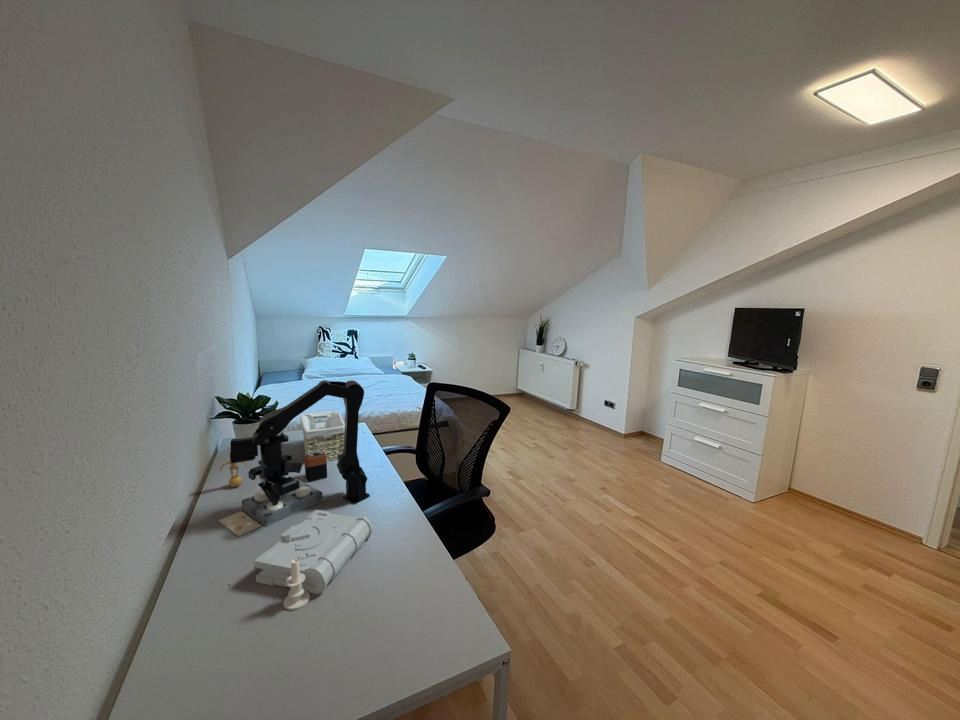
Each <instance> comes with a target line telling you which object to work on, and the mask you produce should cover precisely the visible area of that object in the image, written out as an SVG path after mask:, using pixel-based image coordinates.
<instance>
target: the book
mask: <svg viewBox="0 0 960 720" xmlns="http://www.w3.org/2000/svg"><path fill="white" fill-rule="evenodd" d="M373 529H374V528H373V524H372V522H371V521H370V519H369V518H368V517H366V516H349V515H343V514H337V513H331V512H330V511H326V510H320V509H315V510H314V511H313V512H311V513H310V514H309V515H308V516H307V517H306V519H305V520H304V521H302V522H301V523H298V524H296V525H291V526H290V527H289V528H288V529H286V530H285V531H284V532H283V533H281V535H280V541H279V542H277V543H276V544H275V545H273V547H271V548H270V549H269V548H268V549H267V550H266V551H264V552H262V554H260V555H259V556H257V558H255V559H254V560H253V562H254V567H255V568H258V569H260V571H259V573H257V574H256V575H255V582H256V583H259V584H261V585H268V586H274V585H275V586H280V587H284V588H290V587H291V586H288V585H287V584H286V580H287V579H288V578H289V577H290V576H291V561H292V560H294V559H295V560H298V561H299V571H300V573H302V574H304V575H305V580H304V581H303V582H302V583H301V584H302V587H304V591H307V592H308V593H309V594H313V595H321V594H322V593H324V592H325V590H326V588H327V586H328V584H329V583H330V582H332V581H334V580H335V578H336V577H337V575H338V574H340V573H341V571H342V570H343V568H344V565H346V563H347V562H348V561H349V560H350V558H351V557H352V556H354V555H355V554H356V553H357V552H358V551H359V550H360V549H361V547H362V546H363V545H364V544H365V541H366V540H369V539H370V538H371V535H372V534H373V532H374V531H373ZM290 589H291V588H290Z"/></svg>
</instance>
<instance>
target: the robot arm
mask: <svg viewBox="0 0 960 720" xmlns="http://www.w3.org/2000/svg"><path fill="white" fill-rule="evenodd" d="M327 396H331V397H334V398H341V399H342V400H343V405H344V409H345V413H344V414H345V415H344V423H345V431H344V450H343V453H342V455H337V457H338V459H337V464H336V467H337V470H338V472H339V474H340V475H341V477H342V479H343V480H345V495H342V499H343V500H346V501H348V502H349V503H352V504H354V505H355V504H357V503H359V502H361V501H363V500H365V499H367V498H369V497H371V494H370V493H367V488H366V487H367V481H368V477H367V474H366V473H365V470H363V468H362V466H360V460H359V456H358V433H359V432H358V431H359V415H360V414H359V413H360V409H361V407H362V404H363V400H364V396H365V389H364V387H362V386H361V384H359V383H358V382H357V381H356V380H347V381H335V380H334V381H332V380H331V381H330V380H325V379H324V380H321V381H319V382H318V384H316V385H315V386H313V387H312V388H310V389H309V390H307V391H305V393H303V394H301V395H300V396H298V397H297V398H296V399H295V400H293V401H291V402H290V403H288V404H287V405H285V406H284V407H282V408H278V409H275V410H272V411H271V412H268V413H266V414H264V415H263V416H262V417H261V418H260V419H259V423H258V427H257V428H256V429H255V431H254V432H253V434H252V437H249V436H248V437H244V438H232V439H230V442H229V443H230V453H229V460H230V461H231V464H232V463H237V464H238V463H241V462H245V463H246V462H249V461H250V462H251V461H255V460H254V459H256V457H258V456H259V449H260V460H258V461H257V463H258V465H259V466H255V467H252V468H250V469H249V471H248V473H247V474H248V479H249V480H251V481H256V478H257V476H259V480H260V482H259V483H258V484H257V485H258V486H259V488H260V489H261V491H262V490H263V492H264V493H265V494H266V496H267V497H268V499H269V500H270V502H271V503H272V505H273V506H275V505H277V504H278V501H279V498H280V496H282V495H284V494H287V493H289V492H292V491H294V490H297V489H299V488H300V484H299V481H298V480H299V479H298V480H296V479H295V478H294V477H291V476H289V473H296V474H300V473H301V470H302V467H303V464H304V463H303V462H302V461H300V460H298V459H295V458H293V456H292V455H290V454H283V443H286V442H290V441H289V435H287V434H285V433H284V432H283V431H284V429H286V428H287V426H288V425H289V424H290V423H291V422H292V420H294V419H295V418H296V417H297V416H299V415H300V414H303V413H304V412H305V411H306V410H308V409H309V408H310V407H312V406H314V405H315V404H317V403H318V402H319V401H321V400H322V399H323V398H325V397H327ZM259 447H260V448H259ZM286 476H288V477H286Z"/></svg>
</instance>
